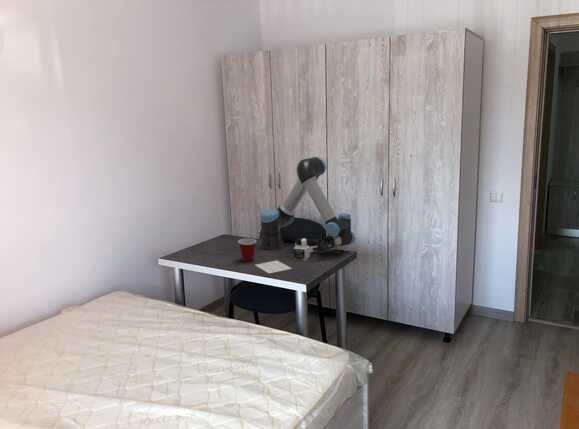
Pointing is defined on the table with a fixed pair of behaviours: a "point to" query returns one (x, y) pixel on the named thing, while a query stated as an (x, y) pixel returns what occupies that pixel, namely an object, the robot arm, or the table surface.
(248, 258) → the plastic cup
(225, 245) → the table surface
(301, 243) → the white blocky tower
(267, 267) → the paper
